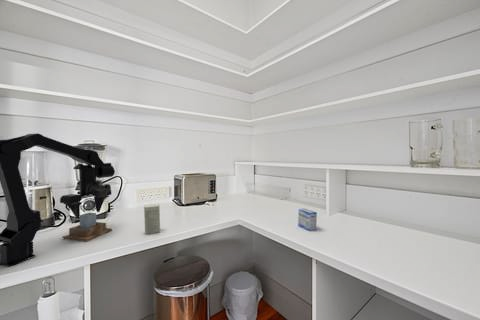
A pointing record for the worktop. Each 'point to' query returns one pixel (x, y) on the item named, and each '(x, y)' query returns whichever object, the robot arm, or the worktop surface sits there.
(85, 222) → the slate peg
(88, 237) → the walnut socket
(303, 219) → the medicine box
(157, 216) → the skincare box
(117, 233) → the worktop surface
